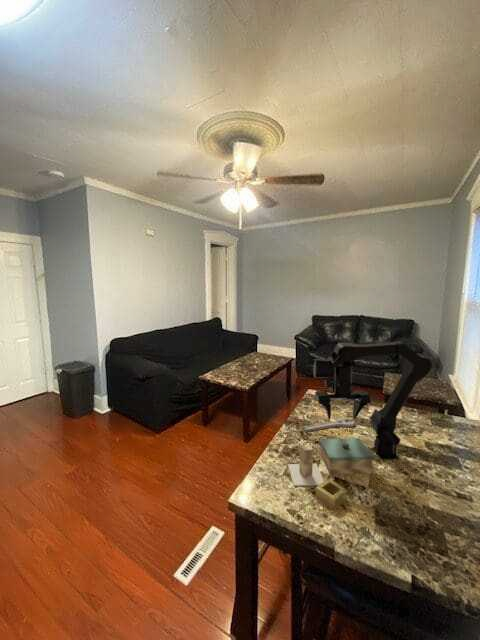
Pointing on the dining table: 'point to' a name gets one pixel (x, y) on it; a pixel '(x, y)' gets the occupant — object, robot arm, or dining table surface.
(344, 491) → the frame
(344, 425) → the adjustable wrench
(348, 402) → the dining table surface
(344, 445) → the drawer
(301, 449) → the brown square block
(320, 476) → the grey mat
